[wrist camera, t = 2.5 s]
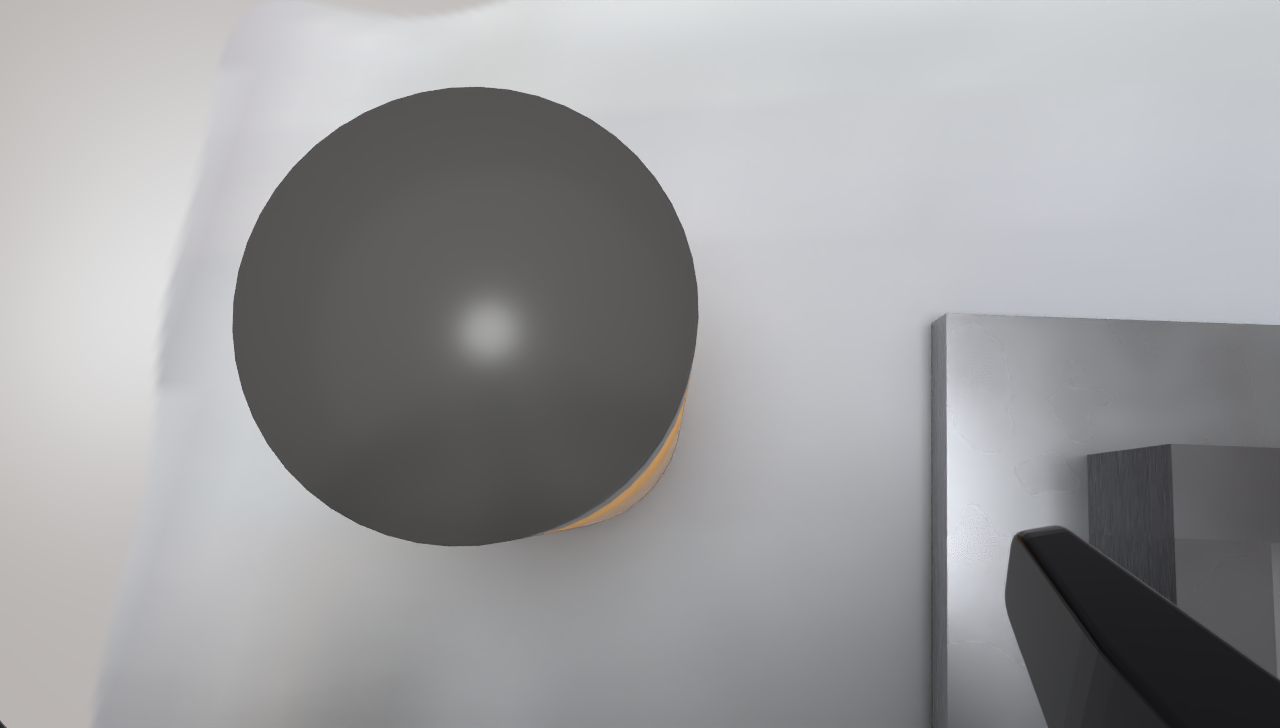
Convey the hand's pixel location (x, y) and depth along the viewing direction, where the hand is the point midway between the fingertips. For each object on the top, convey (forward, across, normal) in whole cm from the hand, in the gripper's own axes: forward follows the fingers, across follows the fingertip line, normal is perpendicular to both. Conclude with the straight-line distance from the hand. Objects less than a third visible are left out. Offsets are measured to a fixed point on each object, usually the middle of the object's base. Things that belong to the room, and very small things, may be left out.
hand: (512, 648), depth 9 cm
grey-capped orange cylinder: (+9, 0, +5) cm, 11 cm away
